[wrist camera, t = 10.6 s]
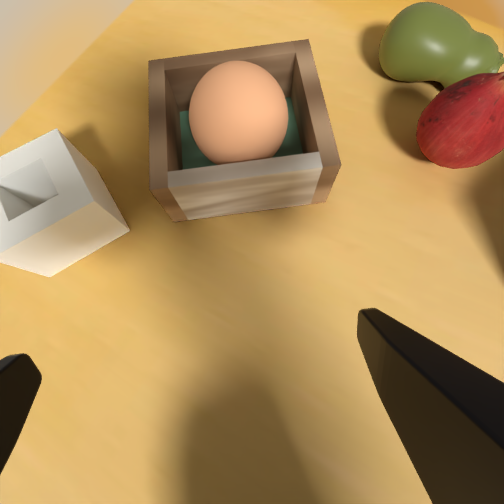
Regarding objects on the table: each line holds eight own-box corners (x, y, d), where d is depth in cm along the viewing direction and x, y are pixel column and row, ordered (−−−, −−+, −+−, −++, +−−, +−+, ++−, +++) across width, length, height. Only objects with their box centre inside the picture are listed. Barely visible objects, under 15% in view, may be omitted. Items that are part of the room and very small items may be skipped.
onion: (385, 162, 23) (443, 76, 16) (421, 118, 25) (491, 19, 17) (448, 201, 22) (545, 127, 14) (483, 153, 23) (590, 62, 16)
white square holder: (130, 230, 23) (94, 200, 18) (49, 277, 22) (-11, 259, 17) (96, 169, 25) (56, 128, 20) (21, 210, 24) (-40, 176, 19)
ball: (253, 201, 23) (254, 159, 16) (182, 157, 23) (153, 98, 16) (298, 134, 24) (317, 67, 17) (229, 94, 24) (220, 13, 17)
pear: (410, -25, 22) (525, 21, 22) (374, 41, 27) (468, 78, 27) (397, 22, 21) (521, 71, 21) (362, 82, 26) (461, 121, 26)
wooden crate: (325, 202, 23) (341, 164, 18) (173, 222, 23) (149, 190, 18) (300, 94, 26) (308, 39, 21) (169, 111, 26) (148, 60, 21)
